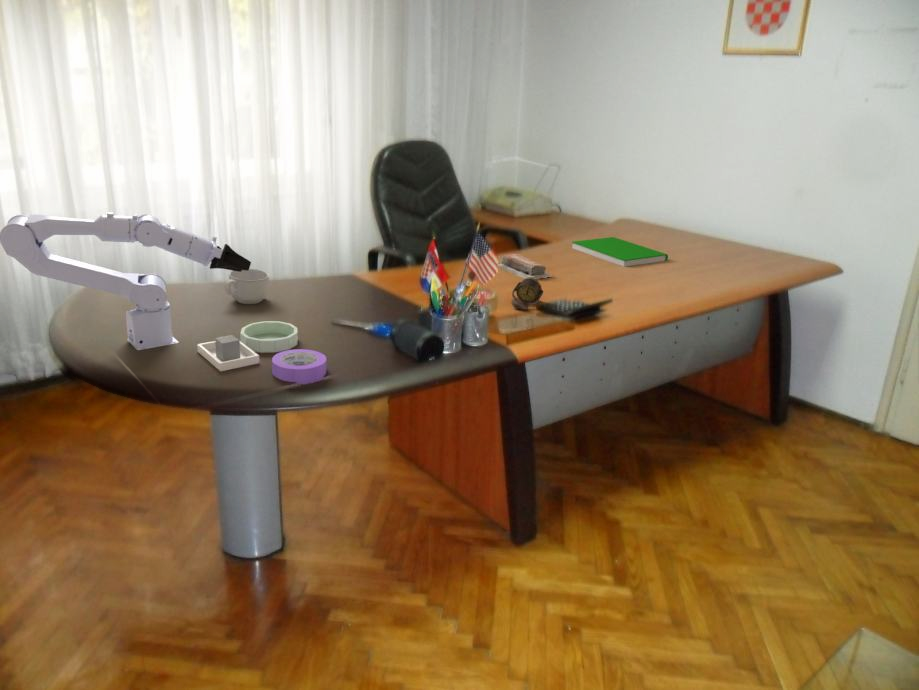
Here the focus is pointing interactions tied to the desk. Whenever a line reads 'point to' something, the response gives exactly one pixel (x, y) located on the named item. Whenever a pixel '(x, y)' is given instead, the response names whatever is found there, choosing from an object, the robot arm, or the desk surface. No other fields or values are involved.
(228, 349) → the grey cube
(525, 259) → the packaged product
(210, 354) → the parts tray
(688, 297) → the desk surface
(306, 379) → the masking tape
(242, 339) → the bowl
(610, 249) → the book
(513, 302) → the brown desk clock
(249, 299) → the teacup
